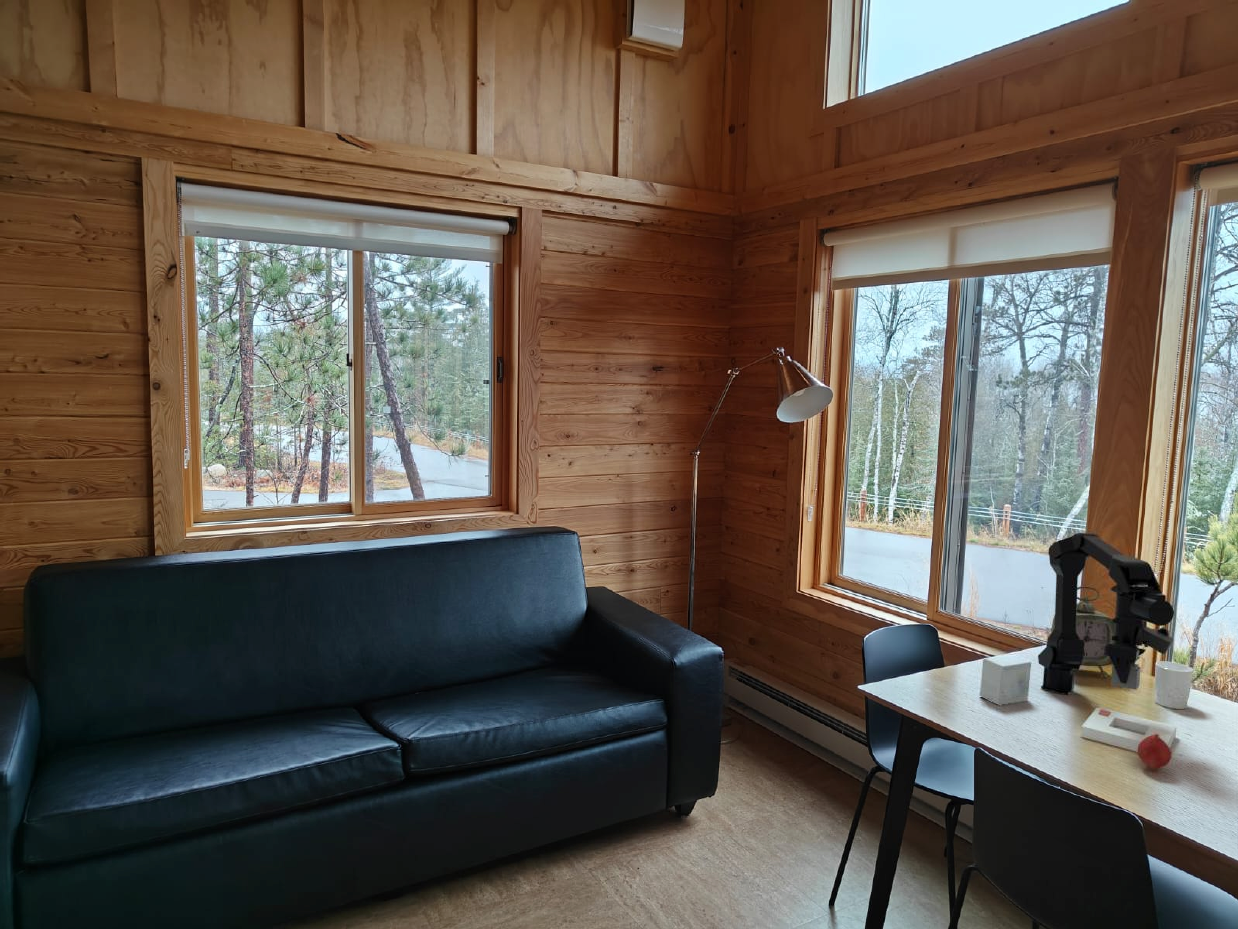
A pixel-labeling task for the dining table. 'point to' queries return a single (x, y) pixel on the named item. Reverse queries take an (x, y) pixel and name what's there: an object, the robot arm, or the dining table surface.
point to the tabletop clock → (1093, 632)
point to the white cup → (1172, 684)
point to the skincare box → (1005, 679)
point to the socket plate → (1124, 729)
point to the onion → (1154, 752)
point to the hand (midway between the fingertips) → (1125, 681)
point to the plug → (1132, 678)
